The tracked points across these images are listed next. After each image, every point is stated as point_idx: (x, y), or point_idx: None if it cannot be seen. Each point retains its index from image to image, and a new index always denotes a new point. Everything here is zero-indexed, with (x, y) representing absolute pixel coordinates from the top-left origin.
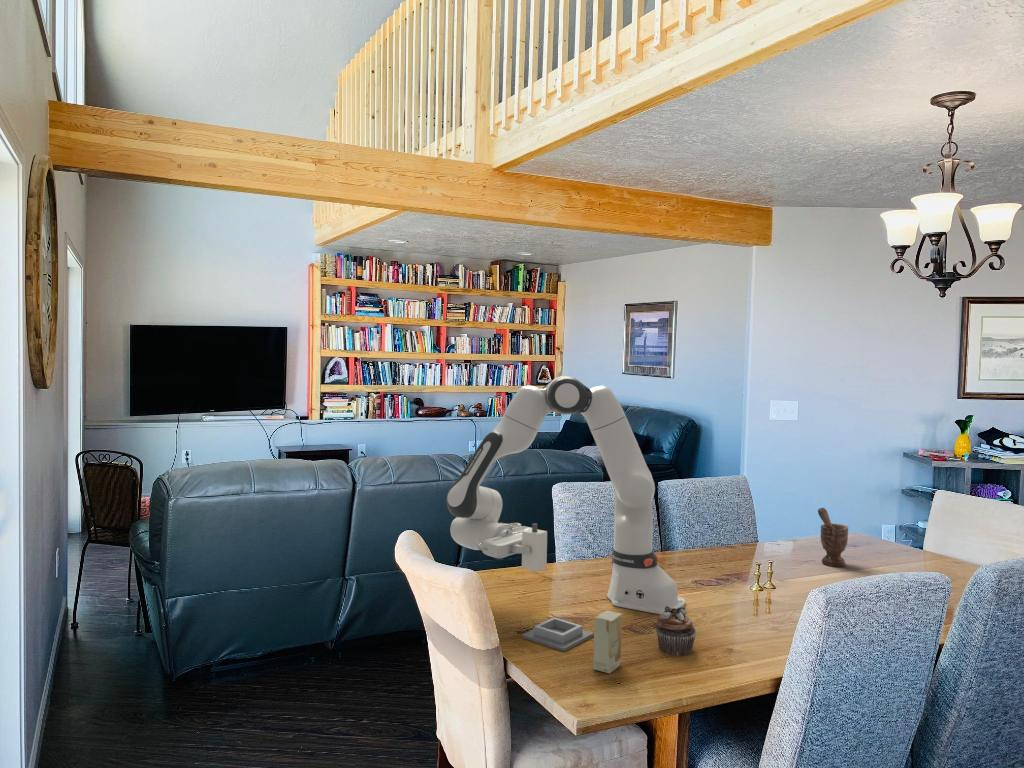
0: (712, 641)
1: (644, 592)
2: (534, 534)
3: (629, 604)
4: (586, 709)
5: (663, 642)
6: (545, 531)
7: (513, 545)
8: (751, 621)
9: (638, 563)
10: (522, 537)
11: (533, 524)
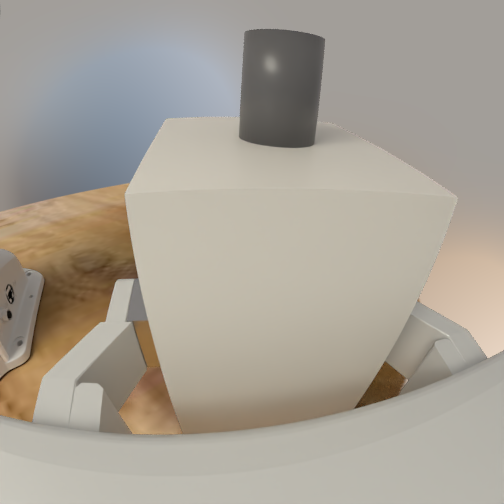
0: (117, 215)
1: (10, 281)
2: (345, 132)
3: (27, 323)
4: None
5: None
6: (179, 119)
7: (482, 354)
8: (33, 218)
9: None
10: (422, 279)
11: (318, 40)
